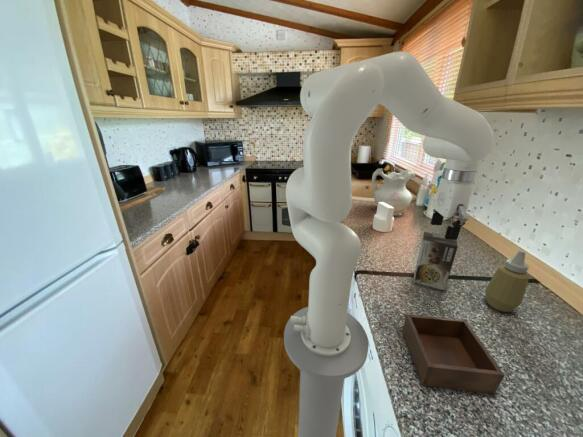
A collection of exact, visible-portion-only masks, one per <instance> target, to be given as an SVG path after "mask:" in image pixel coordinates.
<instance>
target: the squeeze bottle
mask: <svg viewBox="0 0 583 437" xmlns="http://www.w3.org/2000/svg"><path fill="white" fill-rule="evenodd" d="M525 259H526V251H525V250H523V249H519V251H517V253H516V254H515V255H514V256H513V258H507V259H506V260H505V262H504V264H501V265H498V267H497V269H496V270H495V272H494V274H493V275H492V277H491V279H490V281H489V283H488V284H487V286H486V288H485V298H486V300H485V301H486V303H487V304H488V305H489V306H490V307H492V308H493V309H495V310H497V311H500V312H504V313H510V312H512V311H514V310H515V309H516V308H518V307H519V306H521V304H522V303H523V300H524V297H525V293H526V291H527V287H528V284H529V281H530V274H529V273H528V270H529V264H528V263H525V261H526V260H525Z"/></svg>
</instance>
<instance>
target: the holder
mask: <svg viewBox="0 0 583 437" xmlns="http://www.w3.org/2000/svg"><path fill="white" fill-rule="evenodd" d="M404 318H405V319H404V322H403V327H402V329H401V330H402V331H401V332H402V335H403V337H404V340H405V342H406V345H407V348H408V351H409V353H410V357H411V359H412V361H413V364H414V367H415V369H416V372H417V375H418V378H419V380H420V384H421V386H423V387H431V388H441V389H449V390H457V391H464V392H473V393H481V394H490V395H495V394H496V393H497V391H498V389H499V387H500V386H501V383H502V382H503V379H504V378H505V374H504V372H503V371H502V369H501V368H500V366H499V365H498V363H497V362H496V361H495V358H494V357H493V356H492V355H491V354H490V352H489V351H488V349H487V348H486V346H485V345H484V344H483V342H482V340H480V338H479V337H478V335H477V334H476V332H475V331H474V329H473V328H472V327H471V325H470V324H469V323H468V321H467V320H466V319H462V318H450V317H441V316H430V315H420V314H405V317H404Z"/></svg>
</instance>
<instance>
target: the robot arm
mask: <svg viewBox="0 0 583 437" xmlns="http://www.w3.org/2000/svg"><path fill="white" fill-rule="evenodd" d="M299 98H300V99H299V100H300V105H301V107H302V109H303V111H304V112H305V114H307V116H309V118H311V119H310V120H309V123H308V124H307V126H306V129H305V132H304V136H303V140H302V162H303V164H302V165H303V166H300V167H298V168H296V169H295V170H294V171H293V172H292V173H291V174H290V175H289V177H288V179H287V182H286V186H285V201H286V206H287V211H288V217H289V222H290V228H291V232H292V235H293V237H294V240H295V241H296V242H297V243H298V244H299V245H300V246H301V247H302V248H303V249H304V250H306V251H307V252H308V253H309V255H311V256H312V257H313V258H314V260H315V266H314V267H313V268H312V270H311V272H310V274H309V282H308V286H309V287H308V302H307V304H308V306H307V307H308V312H307V316H303V317H298V316H293V315H290V318H291V319H290V318H289V319H290V324H302V326H299V325H294V331H301V337H302V340H303V343H304V344H305V346H306V347H307V348H308V349H309V350H310V351H312V352H313V353H315V354H317V355H320V356H325V357H334V356H338V355H340V354H342V353H343V352H345V351H346V350H347V348H348V347H349V344H350V340H351V335H350V331H349V328H348V327H347V325H346V320H347V313H349V305H350V298H351V297H350V296H351V290H352V289H351V288H352V282H353V276H354V272H355V268H356V265H357V263H358V260H359V257H360V254H361V252H362V244H361V240H360V238H359V236H358V234H357V233H356V232H355V231H354V230H353V229H352V228H351V227H349V226H347V225H346V224H344V223H342V222H343V221H344V220H346V218H348V216H349V215H350V213H351V210H352V205H353V188H352V186H353V185H352V163H351V158H352V146H353V143H354V140H355V138H356V135H357V133H358V132H359V130H360V128H361V127H362V126H363V124H364V123H365V122H366V120H367V119H368V118H369V117H370V116H371V114H372V113H374V111H375V109H376V108H377V107H378V105H380V106H383V107H384V108H385V109H386V110H388V112H389V113H390V114H392V115H393V116H394V117H395V118H396V119H397V120H398V122H400V123H401V125H403V127H405V128H406V130H409V131H410V132H413V133H414V134H418V135H421V136H425V137H424V138H423V141H422V149H423V152H424V153H425V154H426V155H427V156H429V157H432V158H437V159H441V160H442V159H443V160H445V163H444V167H443V170H442V174H441V178H440V180H439V183H438V185H437V188H436V191H435V194H434V198H433V201H432V208H433V209H432V212H433V213H432V215H431V220H430V225H431V226H442V225H443V223H444V218H445V219H448V223H449V225H447V227H446V229H445V230H446V231H445V234H444V235H445V239H451V240H457V241H458V239H459V235H460V232H461V228H463V226H464V225H465V224H466V222H467V221H468V220H469V215H468V213H467V209H468V207H469V203H470V199H471V194H472V187H473V184H474V182H475V179H476V178H475V177H476V175H477V173H478V168H479V165H480V163H481V162H482V161H483V160H485V159H487V157H488V156H489V155H490V154H491V152H492V150H493V148H494V144H495V136H494V132H493V128H492V127H491V125H490V124H489V122H488V120H487V119H486V118H485V117H484V116H483V115H482V114H481V113H480V112H479V111H476V110H475V109H473V108H471V107H469V106H467V105H464V104H462V103H461V102H459V101H456V100H454V99H451V98H449V97H447V96H445V95H443V94H442V92H441V91H440V89H439V88H438V87H437V85H436V84H435V83H434V82H433V80H432V79H431V77H430V76H429V74H428V73H427V71H426V70H425V69H424V67H423V66H422V64H421V63H420V61H419V60H418V59H417V58H416V57H415V56H414V55H413V54H412V53H410V52H407V51H393V52H390V53H385V54H382V55H381V54H380V55H378V56H374V57H370V58H366V59H363V60H360V61H353V62H349V63H345V64H341V65H338V66H337V65H336V66H334V67H331V68H326V69H322V70H319V71H316V72H313V73H312V74H310V75H309V76H308V77H307V78H306V79H305V81H304V82H303V84H302V85H301V89H300V93H299Z"/></svg>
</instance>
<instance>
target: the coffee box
mask: <svg viewBox="0 0 583 437" xmlns="http://www.w3.org/2000/svg"><path fill="white" fill-rule="evenodd" d="M458 247H459V245H458V239H457V240H451V239H445V234H439V233H435V232H434V233H433V232H427V231H424V232H423V235H422V238H421V244H420V247H419V251H418V256H417V259H416V260H417V261H416V265H415V269H414V273H413V283H414V284H418V285H423V286H425V287H429V288H433V289H437V290H441V291H446V288H447V285H448V281H449V279H450V278H449V277H450V275H451V272H452V268H453V264H454V261H455V258H456V255H457V251H458Z"/></svg>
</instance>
